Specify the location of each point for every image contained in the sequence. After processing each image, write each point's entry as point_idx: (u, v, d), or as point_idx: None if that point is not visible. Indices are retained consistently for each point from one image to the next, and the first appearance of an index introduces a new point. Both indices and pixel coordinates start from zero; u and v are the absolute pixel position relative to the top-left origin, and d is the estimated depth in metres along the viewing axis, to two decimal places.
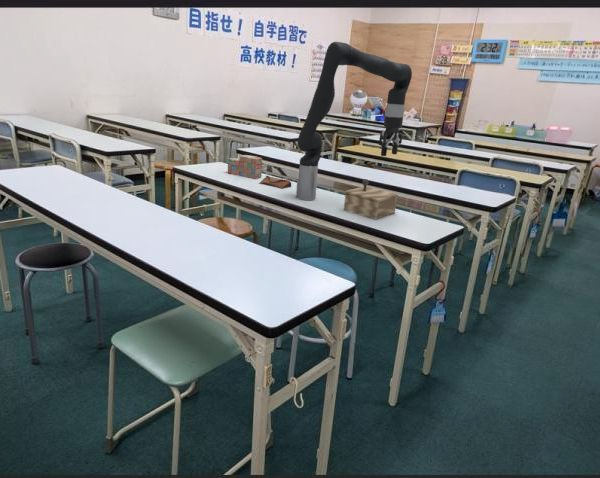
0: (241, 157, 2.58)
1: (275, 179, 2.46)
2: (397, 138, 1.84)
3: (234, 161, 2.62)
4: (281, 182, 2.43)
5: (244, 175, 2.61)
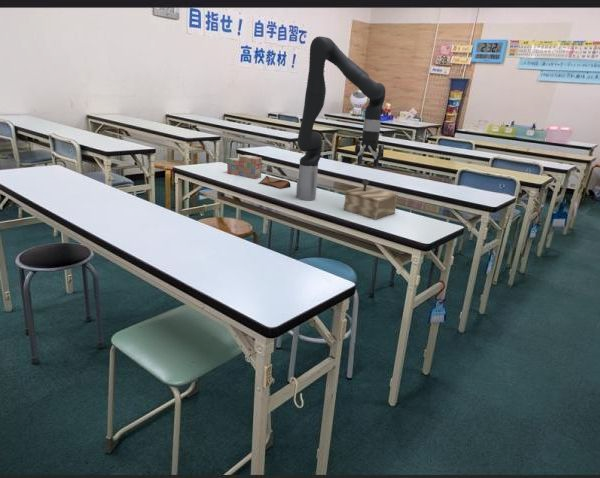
0: (241, 157, 2.58)
1: (274, 179, 2.45)
2: None
3: (234, 161, 2.62)
4: (280, 182, 2.43)
5: (244, 175, 2.61)
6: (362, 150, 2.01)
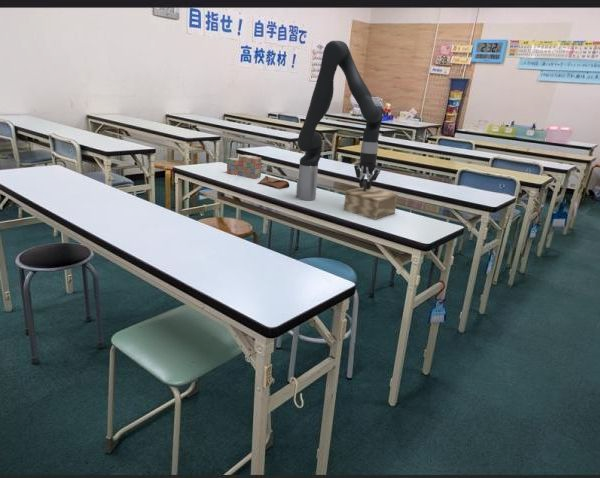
0: (240, 157, 2.58)
1: (273, 179, 2.45)
2: None
3: (233, 161, 2.62)
4: (279, 182, 2.42)
5: (243, 175, 2.61)
6: (362, 172, 2.03)
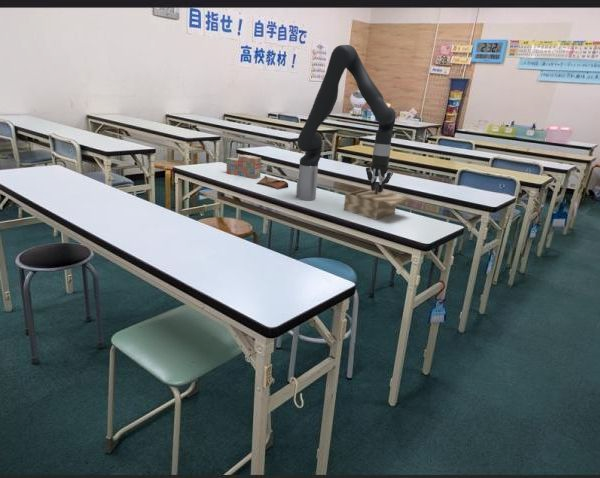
0: (240, 157, 2.59)
1: (272, 179, 2.44)
2: None
3: (233, 161, 2.62)
4: (278, 183, 2.41)
5: (243, 175, 2.61)
6: (374, 175, 1.99)
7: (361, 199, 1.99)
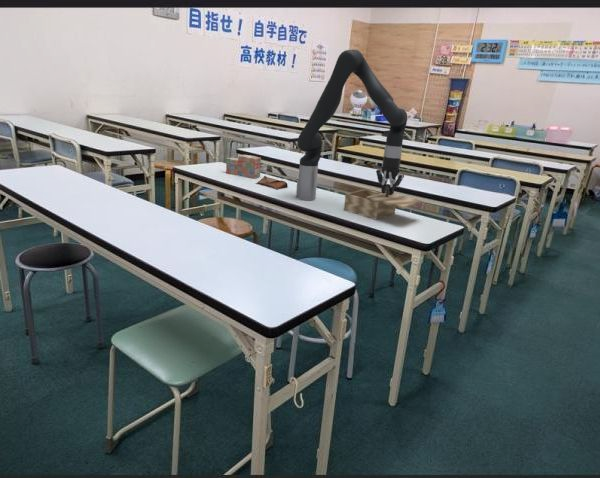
0: (240, 157, 2.59)
1: (271, 180, 2.44)
2: None
3: (233, 161, 2.62)
4: (277, 183, 2.41)
5: (243, 175, 2.61)
6: (384, 177, 1.96)
7: (361, 199, 1.99)
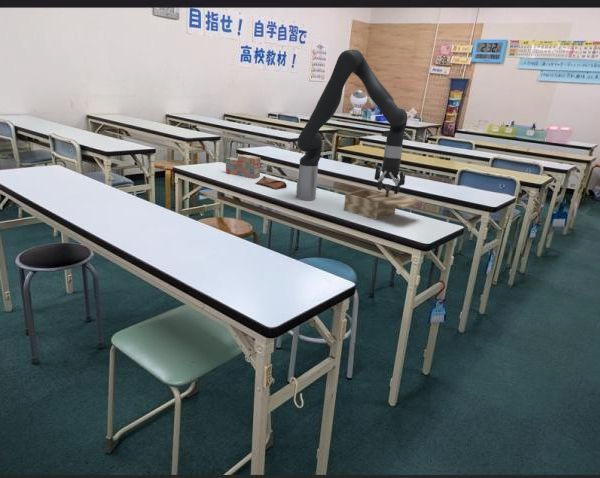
0: (239, 157, 2.59)
1: (271, 180, 2.43)
2: None
3: (232, 161, 2.62)
4: (276, 183, 2.41)
5: (243, 175, 2.61)
6: (382, 176, 1.96)
7: (361, 199, 1.99)
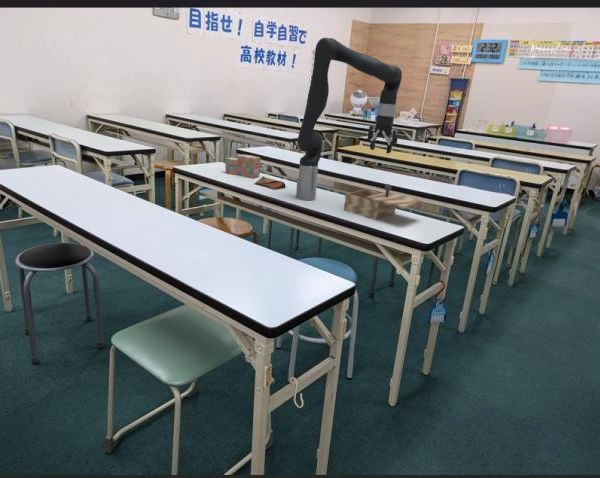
0: (239, 157, 2.59)
1: (269, 180, 2.43)
2: None
3: (232, 161, 2.62)
4: (275, 183, 2.40)
5: (242, 175, 2.61)
6: (375, 135, 1.96)
7: (361, 199, 1.99)
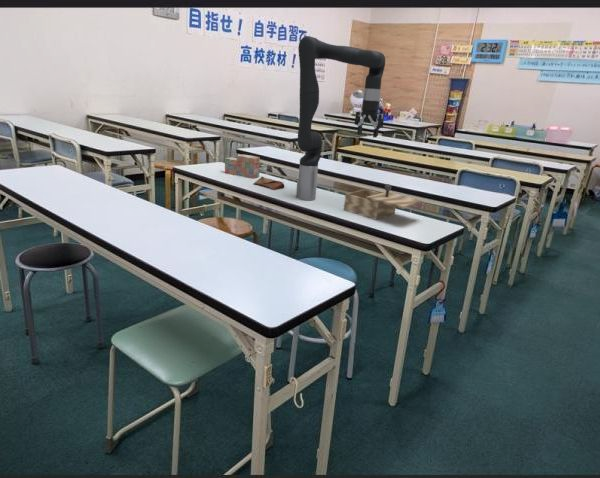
0: (239, 157, 2.59)
1: (268, 180, 2.42)
2: None
3: (231, 161, 2.62)
4: (274, 183, 2.39)
5: (242, 174, 2.62)
6: (362, 120, 2.01)
7: (361, 199, 1.99)
